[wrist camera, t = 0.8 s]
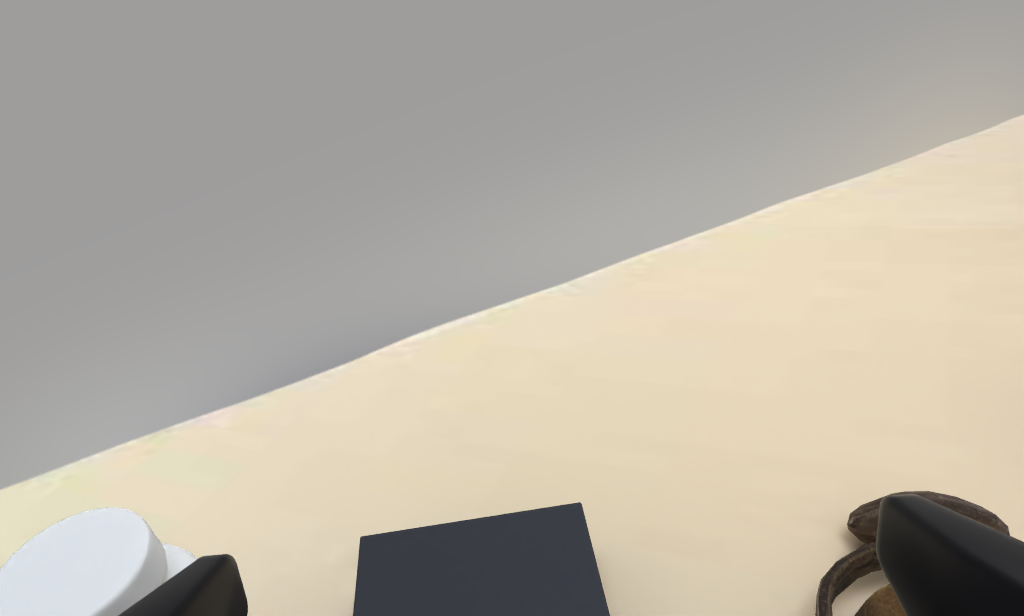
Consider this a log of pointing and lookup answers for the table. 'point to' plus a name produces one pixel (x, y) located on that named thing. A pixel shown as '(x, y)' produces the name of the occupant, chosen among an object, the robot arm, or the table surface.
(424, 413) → the table surface
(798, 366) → the table surface
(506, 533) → the blackboard eraser
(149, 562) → the pill bottle
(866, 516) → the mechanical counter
